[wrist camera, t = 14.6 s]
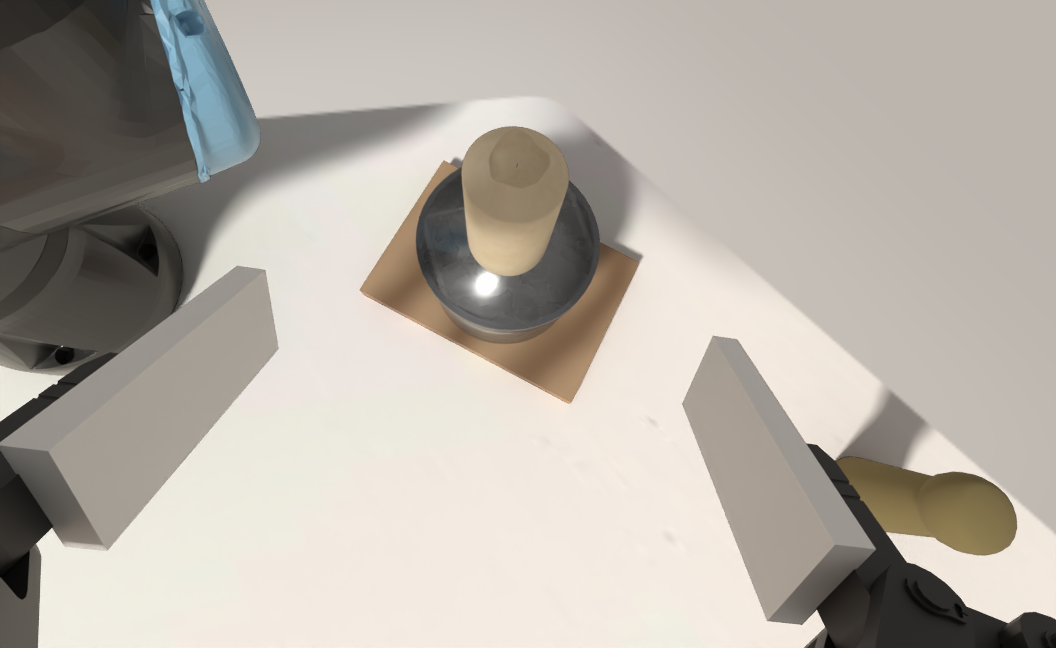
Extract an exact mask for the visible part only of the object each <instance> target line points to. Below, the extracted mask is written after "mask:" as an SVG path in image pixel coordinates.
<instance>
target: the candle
mask: <svg viewBox="0 0 1056 648" xmlns="http://www.w3.org/2000/svg"><path fill="white" fill-rule="evenodd" d="M461 173H462V186H463V197H464V207H465V218H466V228H467V238H468V244H469V248H470V251H471V253H472V255H473V257H474V258H475V259H476V261H477V262H478V263H479V264H480V265H481V266H482V267H483V268H484V269H486V270H488V271H489V272H492V273H494V274H497V275H501V276H516V275H520V274H523V273H525V272H528V271H529V270H531V269H532V268H533V267H535V266H536V265H537V264H538V263H539V261H540V260H541V259H542V257H543V255H544V253H545V251H546V249H547V246H548V243H549V240H550V237H551V234H552V232H553V229H554V226H555V223H556V220H557V217H558V215H559V212H560V209H561V206H562V203H563V200H564V198H565V195H566V192H567V189H568V183H569V173H568V167H567V163H566V161H565V158H564V156H563V154H562V153H561V151H560V150H559V148H558V147H557V146H556V145H555V144H554V143H553V142H552V141H551V140H550V139H548V138H547V137H546V136H544V135H542V134H541V133H539V132H537V131H534V130H531V129H528V128H524V127H516V126H512V127H501V128H497V129H494V130H492V131H489V132H487V133H485V134H483V135H482V136H481V137H479V138H478V139H477V140H476V141H475V142H474V143H473V144H472V145H471V146H470V148H469V149H468V151H467V153H466V155H465V157H464V160H463V164H462V172H461Z"/></svg>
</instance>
